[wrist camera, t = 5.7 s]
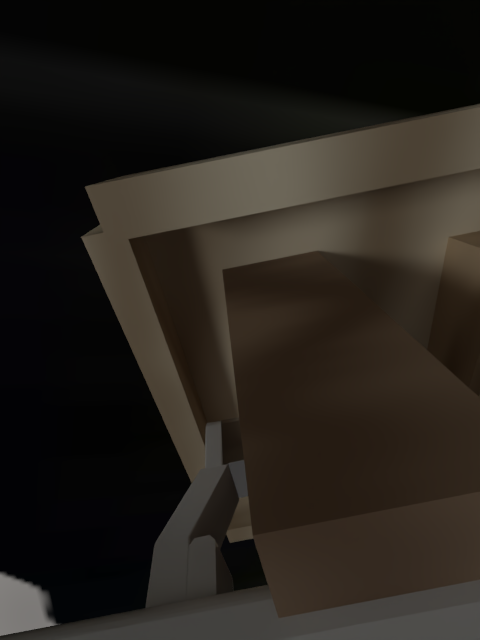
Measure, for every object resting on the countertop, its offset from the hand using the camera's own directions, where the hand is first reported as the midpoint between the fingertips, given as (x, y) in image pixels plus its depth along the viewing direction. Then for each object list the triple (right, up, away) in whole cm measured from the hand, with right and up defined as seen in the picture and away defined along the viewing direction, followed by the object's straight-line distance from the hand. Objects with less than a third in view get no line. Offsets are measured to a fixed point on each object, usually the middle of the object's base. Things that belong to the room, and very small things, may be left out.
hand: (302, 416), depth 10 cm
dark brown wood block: (0, +2, +3) cm, 3 cm away
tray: (+3, +2, +3) cm, 5 cm away
